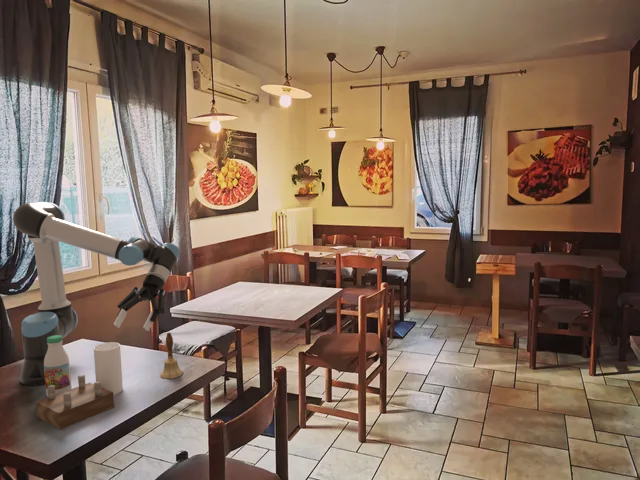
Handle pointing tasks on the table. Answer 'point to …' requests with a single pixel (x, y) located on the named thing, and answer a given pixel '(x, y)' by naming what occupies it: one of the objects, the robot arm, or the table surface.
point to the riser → (74, 404)
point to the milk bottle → (57, 366)
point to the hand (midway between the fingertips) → (130, 327)
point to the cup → (108, 366)
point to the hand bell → (170, 362)
